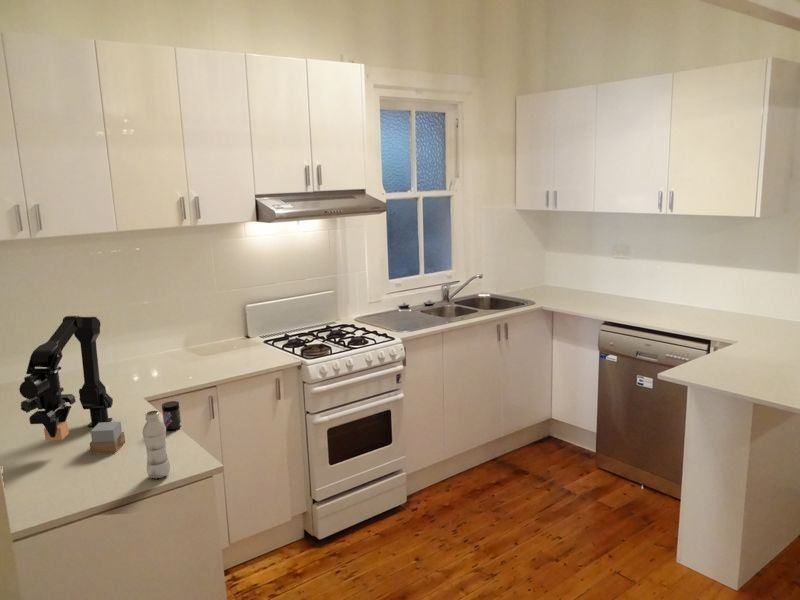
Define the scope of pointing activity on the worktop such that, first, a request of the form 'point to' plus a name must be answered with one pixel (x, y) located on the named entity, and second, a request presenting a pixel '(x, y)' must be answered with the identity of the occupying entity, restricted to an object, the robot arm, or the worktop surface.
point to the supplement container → (171, 415)
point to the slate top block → (106, 432)
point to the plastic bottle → (155, 446)
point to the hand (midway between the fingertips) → (57, 433)
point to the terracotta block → (58, 432)
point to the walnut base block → (108, 445)
